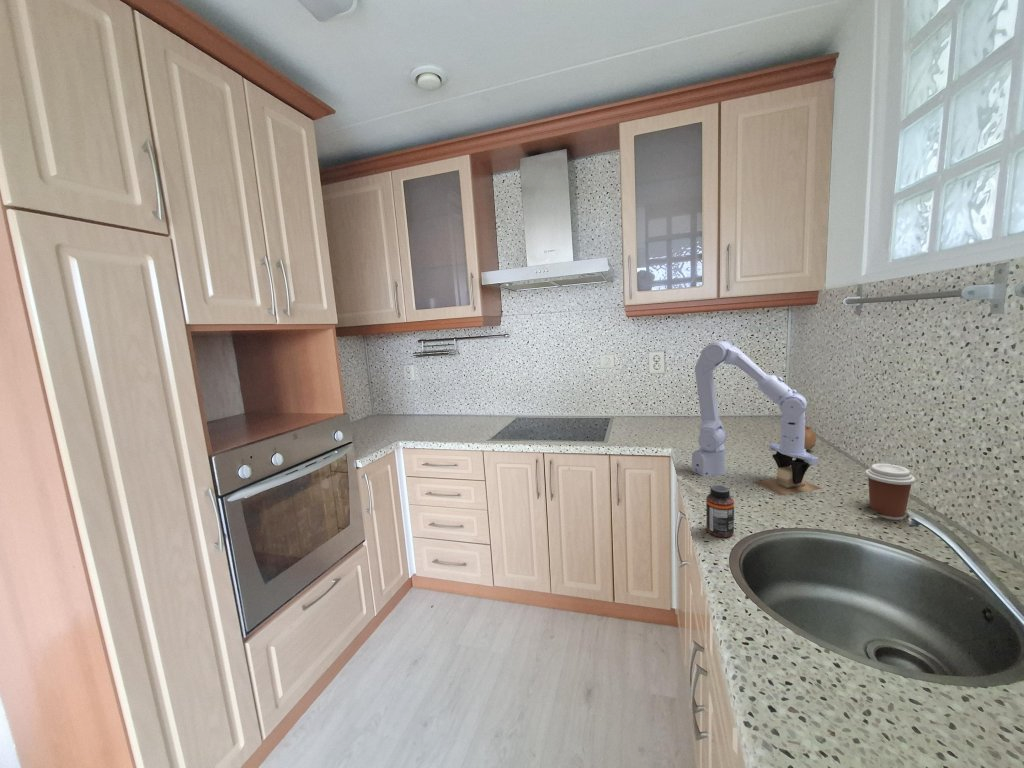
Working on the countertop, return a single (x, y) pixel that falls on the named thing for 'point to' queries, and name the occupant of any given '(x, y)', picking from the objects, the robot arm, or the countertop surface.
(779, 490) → the board
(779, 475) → the block
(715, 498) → the supplement bottle
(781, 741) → the countertop surface
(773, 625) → the countertop surface
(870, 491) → the coffee cup
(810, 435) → the onion
